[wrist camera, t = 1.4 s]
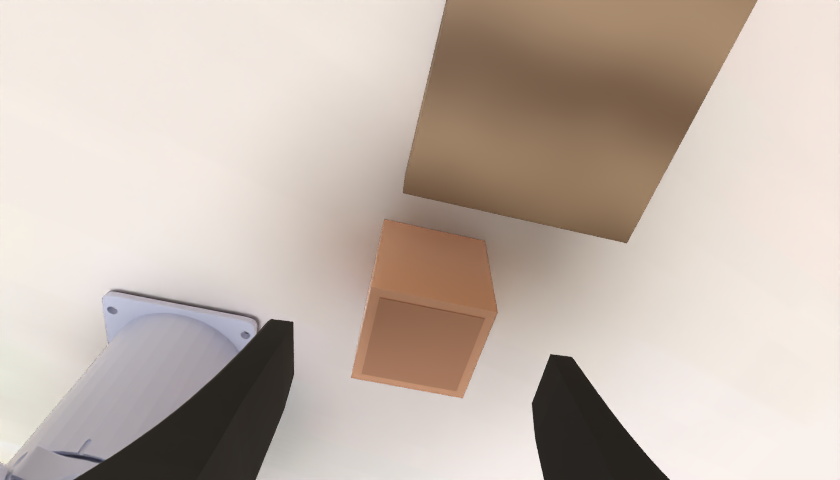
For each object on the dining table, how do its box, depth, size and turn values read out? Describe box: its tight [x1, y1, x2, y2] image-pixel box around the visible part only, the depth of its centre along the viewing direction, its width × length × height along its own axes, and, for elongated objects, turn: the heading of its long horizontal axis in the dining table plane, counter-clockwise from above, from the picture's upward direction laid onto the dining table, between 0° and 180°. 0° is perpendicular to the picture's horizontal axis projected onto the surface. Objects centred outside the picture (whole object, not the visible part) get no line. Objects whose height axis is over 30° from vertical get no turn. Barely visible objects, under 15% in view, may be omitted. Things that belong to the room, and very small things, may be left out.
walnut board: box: [403, 0, 757, 243], centre depth 19 cm, size 10×10×2 cm
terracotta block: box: [351, 219, 498, 398], centre depth 22 cm, size 5×5×6 cm
